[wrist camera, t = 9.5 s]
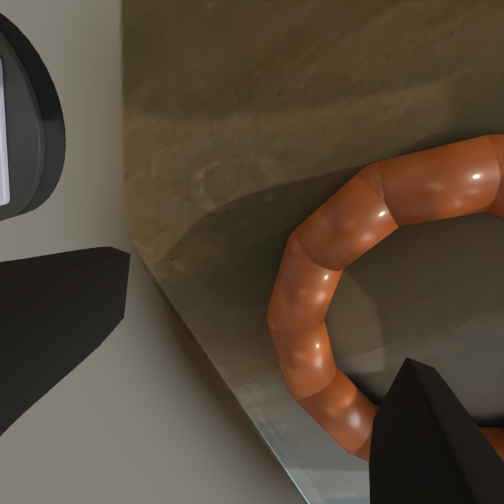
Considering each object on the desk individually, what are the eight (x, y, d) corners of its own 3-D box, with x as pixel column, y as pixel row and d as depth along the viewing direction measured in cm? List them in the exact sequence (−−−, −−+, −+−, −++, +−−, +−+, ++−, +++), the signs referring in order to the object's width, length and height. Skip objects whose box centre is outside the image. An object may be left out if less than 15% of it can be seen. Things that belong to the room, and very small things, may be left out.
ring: (248, 382, 21) (233, 416, 18) (334, 93, 14) (327, 89, 12) (539, 502, 18) (565, 560, 16) (811, 211, 12) (923, 236, 9)
